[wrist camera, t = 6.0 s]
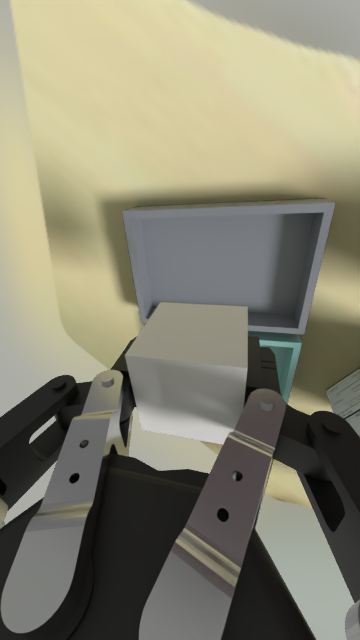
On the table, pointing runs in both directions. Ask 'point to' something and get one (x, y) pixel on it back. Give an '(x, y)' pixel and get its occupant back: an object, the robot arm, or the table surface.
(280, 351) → the bin
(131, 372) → the stone block
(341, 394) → the light bulb box
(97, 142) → the table surface
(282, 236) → the bin
